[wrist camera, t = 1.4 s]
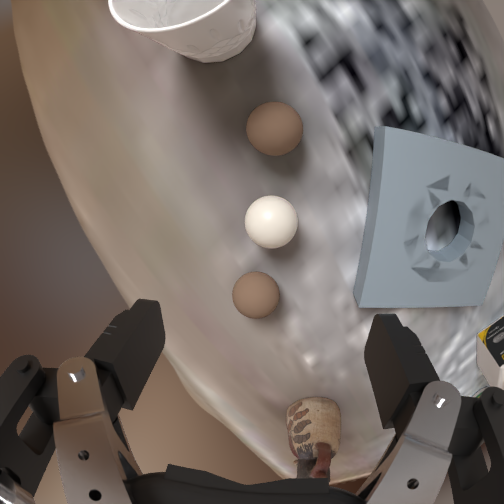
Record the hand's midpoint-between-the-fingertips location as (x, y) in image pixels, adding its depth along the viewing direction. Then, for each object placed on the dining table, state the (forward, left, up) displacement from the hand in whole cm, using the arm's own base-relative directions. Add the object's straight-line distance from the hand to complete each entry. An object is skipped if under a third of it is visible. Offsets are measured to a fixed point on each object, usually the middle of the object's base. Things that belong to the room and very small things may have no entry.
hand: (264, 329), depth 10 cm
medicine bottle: (+14, +32, -15) cm, 38 cm away
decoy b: (+6, -1, -13) cm, 14 cm away
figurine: (+26, +7, -15) cm, 31 cm away
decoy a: (-7, 0, -13) cm, 14 cm away
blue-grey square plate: (-1, +15, -15) cm, 21 cm away
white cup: (-16, -5, -15) cm, 22 cm away
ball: (0, 0, -13) cm, 13 cm away
